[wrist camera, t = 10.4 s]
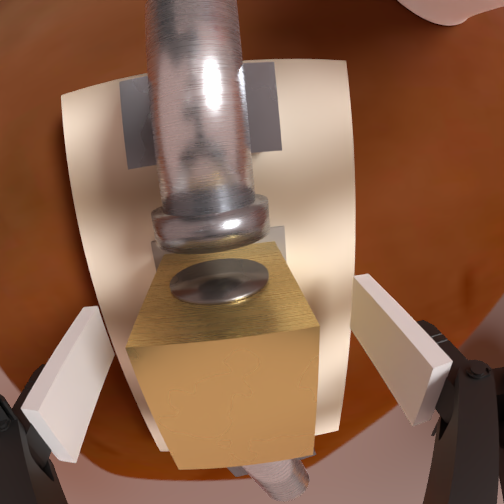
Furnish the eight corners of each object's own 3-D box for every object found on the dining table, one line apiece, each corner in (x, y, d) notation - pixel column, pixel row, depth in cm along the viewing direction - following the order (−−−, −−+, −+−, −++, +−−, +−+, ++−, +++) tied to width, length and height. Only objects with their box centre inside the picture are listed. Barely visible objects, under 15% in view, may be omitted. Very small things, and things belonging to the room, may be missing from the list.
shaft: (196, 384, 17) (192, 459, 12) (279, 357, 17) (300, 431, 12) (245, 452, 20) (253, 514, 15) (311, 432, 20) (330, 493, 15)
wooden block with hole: (163, 251, 14) (123, 342, 7) (274, 238, 14) (319, 320, 8) (188, 362, 16) (179, 471, 10) (281, 351, 16) (312, 456, 10)
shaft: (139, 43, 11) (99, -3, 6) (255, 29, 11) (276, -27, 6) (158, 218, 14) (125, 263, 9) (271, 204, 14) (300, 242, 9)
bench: (78, 99, 13) (59, 94, 11) (331, 68, 14) (347, 59, 12) (162, 431, 21) (159, 453, 19) (330, 411, 22) (339, 432, 20)
